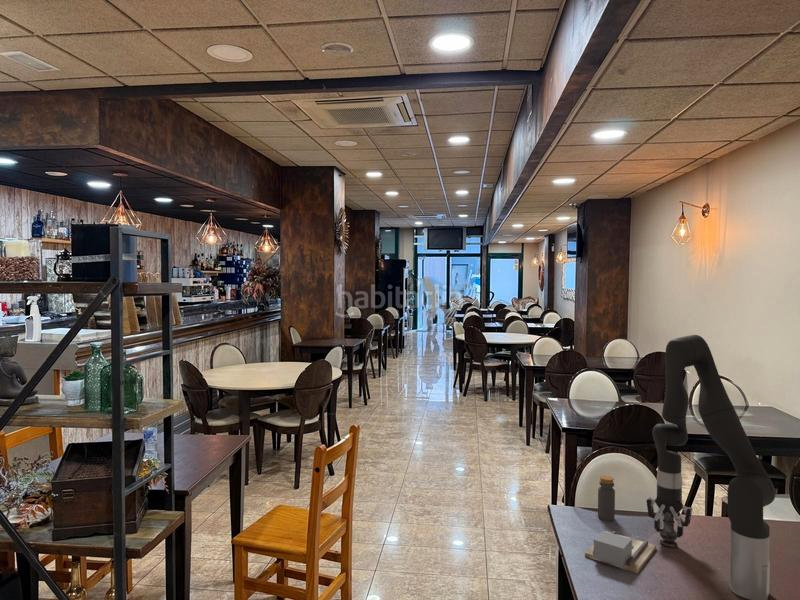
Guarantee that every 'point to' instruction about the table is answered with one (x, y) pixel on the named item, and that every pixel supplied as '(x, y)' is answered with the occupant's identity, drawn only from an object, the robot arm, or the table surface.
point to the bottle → (606, 499)
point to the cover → (612, 548)
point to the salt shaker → (668, 531)
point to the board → (639, 554)
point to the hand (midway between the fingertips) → (668, 533)
